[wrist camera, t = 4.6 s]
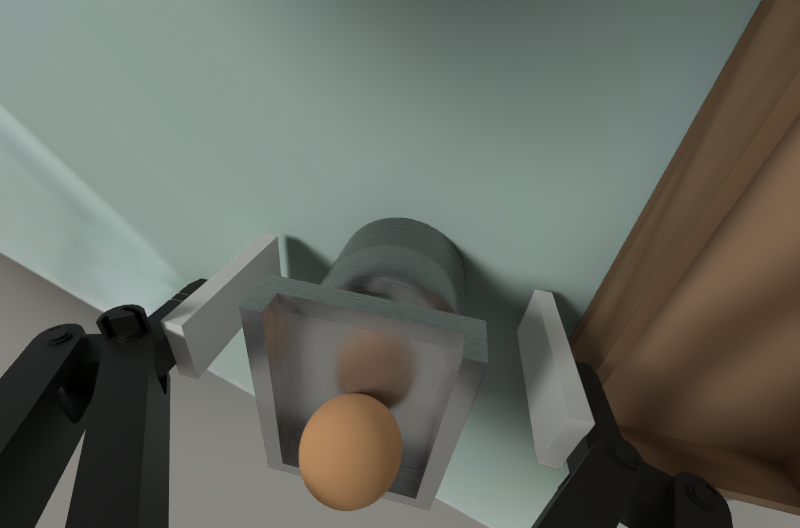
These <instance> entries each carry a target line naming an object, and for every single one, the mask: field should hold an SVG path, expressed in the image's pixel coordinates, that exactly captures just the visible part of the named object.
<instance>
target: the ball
mask: <svg viewBox="0 0 800 528" xmlns="http://www.w3.org/2000/svg"><path fill="white" fill-rule="evenodd" d="M401 458H402V438H401V433H400V429H399V426H398V424H397V422H396V420H395V418H394V416H393V415H392V413H391V412H390V411H389V409H388V408H387V407H386V406H385V405H384V404H382V403H381V402H380V401H378V400H376V399H375V398H373V397H370V396H367V395H364V394H355V393H353V394H345V395H341V396H338V397H335V398H333V399H331V400H329V401H328V402H326V403H325V404H323V405H322V406H321V407H320V408H319V409H318V410H317V411H316V412H315V413H314V414H313V415H312V417H311V418H310V420H309V421H308V423H307V425H306V427H305V429H304V431H303V434H302V437H301V441H300V445H299V467H300V472H301V475H302V478H303V480H304V483H305V485H306V487H307V488H308V489H309V491H310V493H311V494H312V495H313V496H314V497H315V498H316V499H317V500H318V501H320V502H321V503H322V504H324V505H326V506H328V507H330V508H332V509H336V510H341V511H352V510H358V509H361V508H364V507H367V506H369V505H370V504H372V503H374V502H375V501H377V500H378V499H379V498H381V497H382V496H383V495H384V494H385V493H386V491H387V490H388V489H389V488H390V486H391V485H392V483H393V481H394V480H395V478H396V475H397V473H398V471H399V467H400V464H401Z"/></svg>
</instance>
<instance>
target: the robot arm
mask: <svg viewBox="0 0 800 528" xmlns="http://www.w3.org/2000/svg"><path fill="white" fill-rule="evenodd" d="M269 274H272V275H277V276H281V270H280V259H279V247H278V236H275V235H270V234H265V233H263V234H261V235H260V236H259V237H258V238H257V239H256V240H254V241H253V242H252V243H251V244H250V245H249V246H247V247H246V248H245V249H244V250H243V251H242V252H240V253H239V254H238V255H237V256H236V257H235V258H233V259H232V260H231V261H230V262H229V263H228V264H226V265H225V266H224V267H223V268H222V269H221V270H219V271H218V272H217V273H216V274H215V275H214V276H212V277H211V278H210V279H209V280H206V279H202V278H201V279H199V280H197V281H195V282H193V283H190V284H188V285H187V286H186V287H185V288H183V289H182V290H181V291H180V292H179V294H176V295H175V296H174V297H172V298H171V300H169V301H167V302H166V303H165V304H164V305H163V306H161V307H160V308H159V309H158V310H156V311H155V312H154V313H153V314H151V315H150V316H149V317H148V318H147V315H146V313H145V310H144V308H142V307H141V306H139V305H133V304H131V305H122V306H118V307H115V308H112V309H110V310H108V311H106V312H105V313H103V314H102V315H101V316H100V317H99V318H98V320H97V321H96V323H97V325H98V327H99V329H100V331H101V333H102V334H86V333H85V331H84V329H83V328H82V326H80V325H78V324H63V325H58V326H55V327H52V328H49V329H47V330H45V331H43V332H42V333H40V334H39V335H37V336H36V337H35V338H34V339H33V340H32V341H31V343H30V344H29V345H28V346H27V347H26V348H25V350H24V351H23V352H22V353H21V354H20V356H19V357H18V358H17V359H16V360H15V362H14V363H13V364H12V365H11V366H10V368H9V369H8V370H7V371H6V372H5V373H4V375H3V376H2V377H1V378H0V528H35V526H36V524H37V522H38V520H39V518H40V516H41V514H42V513H43V510H44V509H45V507H46V505H47V503H48V501H49V499H50V497H51V495H52V493H53V491H54V489H55V487H56V485H57V483H58V481H59V479H60V478H61V476H62V474H63V472H64V470H65V468H66V466H67V464H68V462H69V460H70V458H71V456H72V455H73V453H74V451H75V449H76V446H77V445H78V443H79V441H80V439H81V437H82V435H83V433H84V431H85V430H86V432H85V436H84V441H83V446H82V451H81V455H80V460H79V465H78V469H77V474H76V479H75V483H74V489H73V493H72V498H71V502H70V507H69V512H68V516H67V521H66V526H65V528H168V524H169V522H168V521H169V445H170V443H169V442H170V441H169V440H170V375H169V371H170V369H171V368H172V367H173V366H174V365H175V364H176V366H177V369H178V371H179V374H181V375H185V376H189V377H193V378H197V379H198V378H199V377H200V376H201V375H202V373H203V372H204V371H205V370H206V369H207V368H208V367H209V365H210V364H211V363H212V362H213V361H214V359H215V358H216V357H217V356H218V355H219V354H220V352H221V351H222V350H223V349H224V348H225V346H226V345H227V344H228V343H229V342H230V341H231V339H232V338H233V337H234V336H235V335H236V333H237V332H238V331H239V330H240V329H241V328H242V326H243V325H242V320H241V314H240V309H239V307H240V305H241V304H242V303H243V302H244V301H245V300H246V299H247V298H248V297H249V296H250V295H251V294H252V292H253V291H254V290H255V289H256V288H257V287H258V286H259V285H260V284H261V283H262V282H263V281H264V279H265V278H266V277H267V276H268V275H269ZM517 336H518V343H519V349H520V355H521V362H522V368H523V375H524V381H525V388H526V394H527V400H528V407H529V413H530V420H531V426H532V432H533V439H534V445H535V452H536V458H537V464H540V465H544V466H548V467H552V468H556V469H561V467H562V466H563V465H564V463H565V462H566V461H567V464H568V468H569V475H568V476H567V477H566V478H565V480H564V481H563V482H562V483H561V484H560V486H559V487H558V490H557V491H556V493H555V494H554V496H553V497H552V499H551V500H550V501H549V503H548V504H547V506H546V507H545V509H544V510H543V511H542V513H541V514H540V516H539V517H538V519H537V520H536V521H535V523H534V524H533V526H532V527H531V528H617V526H618V523H619V522H620V523H622V524H623V525H625V526H627V527H628V528H733V526H732V518H731V512H730V510H729V507H728V504H727V502H726V501H725V499H724V498H723V496H722V495H721V494H720V493H719V492H718V491H717V490H716V489H715V488H714V487H713V486H712V485H711V484H710V483H709V482H707V481H706V480H704V479H703V478H702V477H700V476H698V475H695V474H693V473H691V472H681V473H679V474H677V475H676V476H674V477H673V476H671V475H669V474H667V473H665V472H663V471H661V470H659V469H657V468H655V467H653V466H651V465H650V464H648V463H646V462H645V461H643V459H642V457H641V455H640V454H639V452H638V451H637V449H636V448H635V447H634V446H633V445H632V444H631V443H630V442H628V441H627V440H625V439H624V438H623V437H622V435H621V433H620V430H619V428H618V425H617V423H616V420H615V417H614V415H613V412H612V410H611V407H610V405H609V402H608V400H607V399H606V398H607V397H606V394H605V392H604V390H603V386H602V384H601V381H600V379H599V376H598V375H597V373H596V372H595V371H594V370H593V368H592V367H591V366H590V365H589V364H587V363H583V362H578V361H574V358H573V355H572V352H571V349H570V346H569V343H568V340H567V337H566V334H565V331H564V328H563V325H562V322H561V319H560V316H559V313H558V310H557V307H556V303H555V300H554V297H553V294H552V293H551V292H546V291H541V290H537V289H535V291H534V293H533V296H532V298H531V300H530V303H529V305H528V307H527V309H526V312H525V314H524V316H523V319H522V321H521V323H520V326H519V328H518V330H517Z"/></svg>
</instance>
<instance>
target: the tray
mask: <svg viewBox="0 0 800 528" xmlns="http://www.w3.org/2000/svg"><path fill="white" fill-rule="evenodd" d="M568 343H569V346H570V349H571V352H572V355H573V358H574V361H578V362H583V363H587V364H589V365H590V366H591V367H592V368H593V370H594V371H595V372H596V373H597V375H598V376H599V379H600V381H601V384H602V386H603V390H604V392H605V394H606V397H607V398H606V399H607V400H608V402H609V405H610V407H611V410H612V412H613V415H614V417H615V420H616V423H617V425H618V428H619V430H620V433H621V435H622V437H623V438H624V439H625V440H627V441H628V442H630V443H631V444H632V445H633V446H634V447H635V448H636V449H637V451H638V452H639V454H640V455H641V457H642V459H643V461H645V462H646V463H648V464H650V465H651V466H653V467H655V468H657V469H659V470H661V471H663V472H665V473H667V474H669V475H671V476H673V477H674V476H676V475H677V474H679V473H681V472H691V473H693V474H695V475H698V476H700V477H702V478H703V479H704V480H706V481H707V482H709V483H710V484H711V485H712V486H713V487H714V488H715V489H716V490H717V491H718V492H719V493H720V494H721V495H722V496H723V497H726V498H730V499H735V500H739V501H743V502H747V503H751V504H755V505H759V506H763V507H767V508H771V509H775V510H779V511H783V512H787V513H791V514H795V515H800V0H761V2H760V4H759V6H758V8H757V9H756V11H755V13H754V15H753V16H752V18H751V20H750V22H749V23H748V25H747V27H746V29H745V31H744V32H743V34H742V36H741V38H740V39H739V41H738V43H737V45H736V46H735V48H734V50H733V52H732V54H731V55H730V57H729V59H728V61H727V62H726V64H725V66H724V68H723V69H722V71H721V73H720V75H719V77H718V78H717V80H716V82H715V84H714V85H713V87H712V89H711V91H710V92H709V94H708V96H707V98H706V100H705V101H704V103H703V105H702V107H701V108H700V110H699V112H698V114H697V115H696V117H695V119H694V121H693V123H692V124H691V126H690V128H689V130H688V131H687V133H686V135H685V137H684V138H683V140H682V142H681V144H680V146H679V147H678V149H677V151H676V153H675V154H674V156H673V158H672V160H671V161H670V163H669V165H668V167H667V169H666V170H665V172H664V174H663V176H662V177H661V179H660V181H659V183H658V184H657V186H656V188H655V190H654V192H653V193H652V195H651V197H650V199H649V200H648V202H647V204H646V206H645V207H644V209H643V211H642V213H641V215H640V216H639V218H638V220H637V222H636V223H635V225H634V227H633V229H632V230H631V232H630V234H629V236H628V238H627V239H626V241H625V243H624V245H623V246H622V248H621V250H620V252H619V253H618V255H617V257H616V259H615V261H614V262H613V264H612V266H611V268H610V269H609V271H608V273H607V275H606V276H605V278H604V280H603V282H602V284H601V285H600V287H599V289H598V291H597V292H596V294H595V296H594V298H593V299H592V301H591V303H590V305H589V306H588V308H587V310H586V312H585V314H584V315H583V317H582V319H581V321H580V322H579V324H578V326H577V328H576V329H575V331H574V333H573V335H572V337H571V338H570V340H569V342H568Z"/></svg>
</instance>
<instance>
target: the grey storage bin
mask: <svg viewBox="0 0 800 528" xmlns="http://www.w3.org/2000/svg"><path fill="white" fill-rule="evenodd" d="M464 282H465V272H464V266H463V262H462V259H461V257H460V255H459V252H458V251H457V249H456V248H455V246H454V245H453V244H452V243H451V241H450V240H449V239H448V238H447V237H446V236H444V235H443V234H442V233H441V232H439V231H438V230H436V229H435V228H433V227H431V226H429V225H427V224H425V223H422V222H420V221H416V220H412V219H407V218H386V219H381V220H377V221H374V222H372V223H369V224H367V225H366V226H364V227H362V228H361V229H360V230H358V231H357V232H356V233H355V234H354V235H353V236H352V237H351V239H350V240H349V242H348V243H347V245H346V246H345V248H344V249H343V251H342V252H341V254H340V255H339V257H338V258H337V260H336V261H335V263H334V264H333V266H332V267H331V269H330V270H329V272H328V273H327V275H326V276H325V278H324V279H323V281H322V282H321V284H320V285H318V284H314V283H309V282H305V281H300V280H295V279H291V278H286V277H282V276H277V275H272V274H269V275H268V276H267V277H266V278H265V279H264V281H263V282H262V283H261V284H260V285H259V286H258V287H257V288H256V289H255V290H254V291H253V292H252V294H251V295H250V296H249V297H248V298H247V299H246V300H245V301H244V302H243V303H242V304H241V305H240V307H239V309H240V314H241V320H242V325H243V331H244V336H245V342H246V347H247V353H248V358H249V364H250V369H251V374H252V380H253V385H254V391H255V396H256V401H257V407H258V413H259V418H260V423H261V428H262V435H263V440H264V445H265V451H266V456H267V462H268V467H269V468H273V469H277V470H280V471H284V472H288V473H291V474H295V475H299V476H302V475H301V472H300V467H299V445H300V441H301V437H302V434H303V431H304V429H305V427H306V425H307V423H308V421H309V420H310V418H311V417H312V415H313V414H314V413H315V412H316V411H317V410H318V409H319V408H320V407H321V406H322V405H323V404H325V403H326V402H328V401H329V400H331V399H333V398H335V397H338V396H341V395H345V394H353V393H355V394H364V395H367V396H370V397H373V398H375V399H376V400H378V401H380V402H381V403H382V404H384V405H385V406H386V407H387V408H388V409H389V411H390V412H391V413H392V415H393V416H394V418H395V420H396V422H397V424H398V426H399V429H400V433H401V438H402V458H401V464H400V467H399V471H398V473H397V475H396V478H395V480H394V481H393V483H392V485H391V486H390V488H389V489H388V490H387V491H386V493H385V494H384V495H383V496H382V497H381V498H384V499H388V500H391V501H395V502H399V503H403V504H406V505H410V506H414V507H417V508H421V509H425V510H430V509H431V506H432V503H433V501H434V498H435V496H436V494H437V491H438V489H439V486H440V484H441V481H442V479H443V476H444V474H445V471H446V469H447V466H448V464H449V461H450V459H451V456H452V454H453V451H454V449H455V446H456V444H457V441H458V439H459V436H460V434H461V431H462V429H463V426H464V424H465V421H466V419H467V416H468V414H469V411H470V409H471V406H472V404H473V401H474V399H475V396H476V394H477V391H478V389H479V386H480V384H481V381H482V379H483V376H484V374H485V371H486V369H487V366H488V344H487V324H486V321H485V320H480V319H475V318H471V317H466V316H463V307H464Z"/></svg>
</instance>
